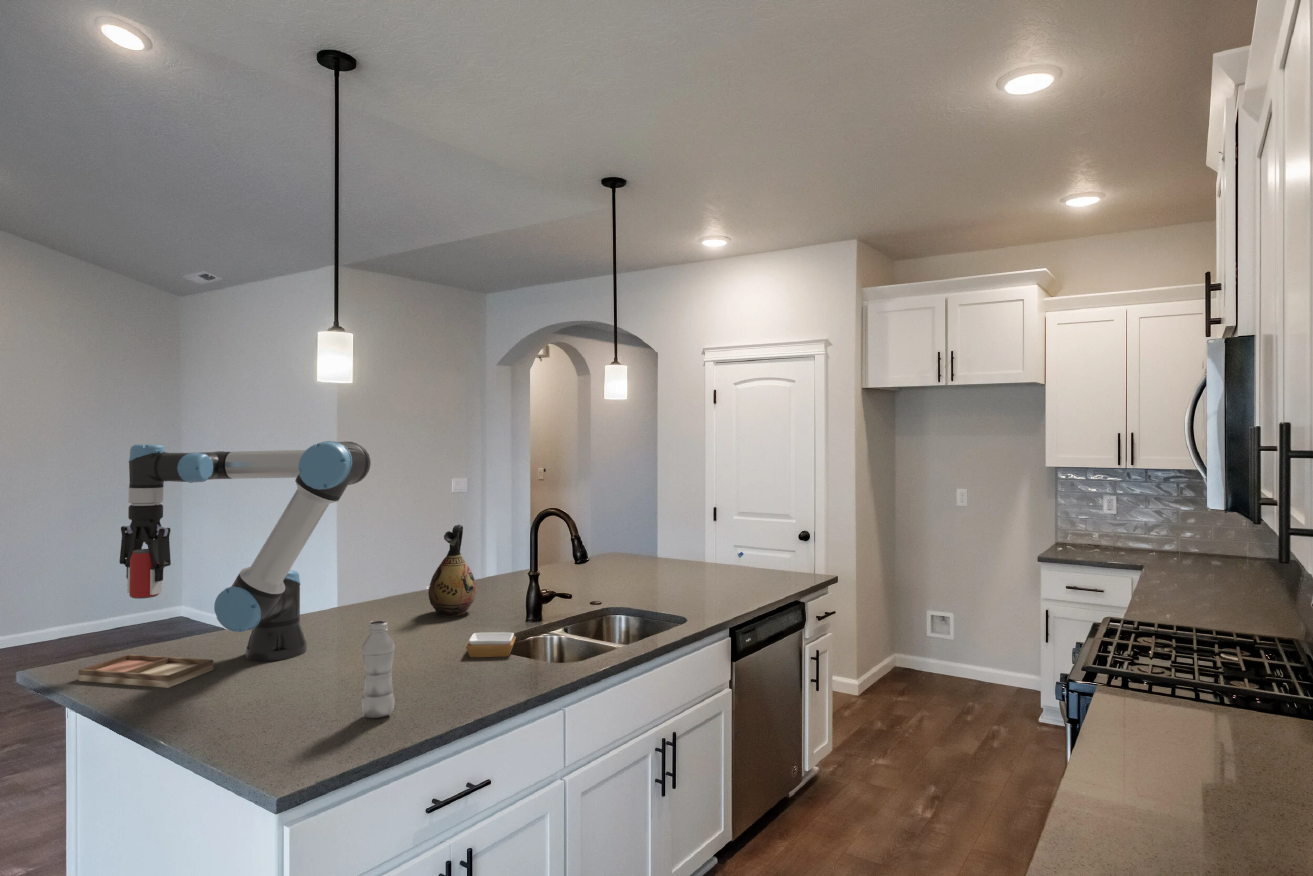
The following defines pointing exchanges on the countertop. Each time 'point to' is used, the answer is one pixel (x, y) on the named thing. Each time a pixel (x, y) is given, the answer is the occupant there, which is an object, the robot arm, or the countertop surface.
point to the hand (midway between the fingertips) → (144, 592)
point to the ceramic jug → (452, 580)
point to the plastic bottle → (378, 671)
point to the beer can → (140, 574)
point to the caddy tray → (146, 670)
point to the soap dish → (490, 644)
